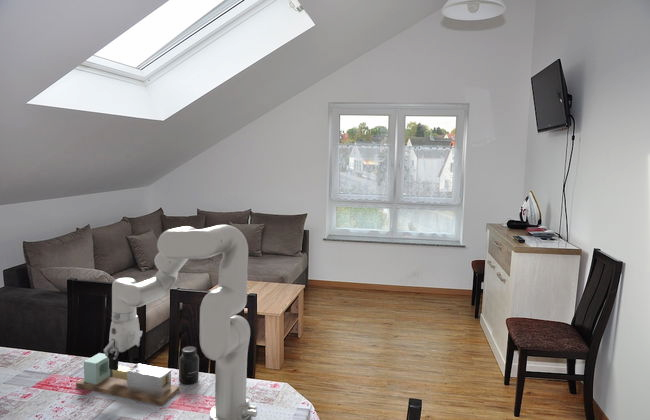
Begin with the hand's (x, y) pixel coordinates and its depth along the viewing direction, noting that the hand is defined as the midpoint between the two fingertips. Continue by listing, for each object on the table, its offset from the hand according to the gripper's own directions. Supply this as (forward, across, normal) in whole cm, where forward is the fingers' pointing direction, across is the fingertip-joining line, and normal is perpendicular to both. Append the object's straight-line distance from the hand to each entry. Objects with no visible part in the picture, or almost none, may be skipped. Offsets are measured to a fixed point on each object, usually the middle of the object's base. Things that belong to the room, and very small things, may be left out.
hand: (124, 363), depth 153 cm
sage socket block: (+8, 0, +11) cm, 13 cm away
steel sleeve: (+7, 0, -10) cm, 13 cm away
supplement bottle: (+9, +12, -18) cm, 23 cm away
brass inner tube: (+5, 0, -6) cm, 8 cm away
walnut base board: (+9, 0, -2) cm, 9 cm away
